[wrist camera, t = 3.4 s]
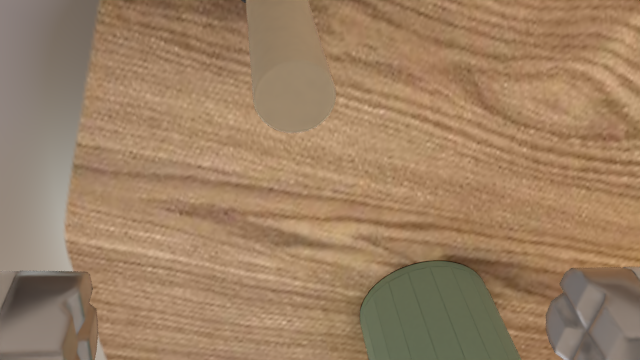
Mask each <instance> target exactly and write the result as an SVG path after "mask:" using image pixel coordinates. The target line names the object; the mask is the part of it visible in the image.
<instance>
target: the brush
mask: <svg viewBox="0 0 640 360" xmlns="http://www.w3.org/2000/svg"><path fill="white" fill-rule="evenodd" d="M241 1H243V2H244V3H246V9H247V23H248V36H249V50H250V63H251V77H252V91H253V102H254V107H255V110H256V112H257V114H258V115H259V117H260V118H261V119H262V120H263V121H264V122H265V123H266V124H267V125H268V126H270V127H271V128H273V129H275V130H278V131H281V132H285V133H301V132H305V131H309V130H311V129H313V128H315V127H317V126H318V125H320V124H321V123H322V122H323V121H325V119H326V118H327V117H328V116H329V114H330V113H331V111H332V109H333V107H334V104H335V100H336V89H335V84H334V81H333V78H332V75H331V72H330V69H329V65H328V62H327V59H326V56H325V53H324V50H323V46H322V43H321V40H320V37H319V34H318V31H317V27H316V24H315V21H314V18H313V15H312V12H311V9H310V5H309V2H308V0H241Z"/></svg>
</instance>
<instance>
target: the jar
mask: <svg viewBox="0 0 640 360" xmlns="http://www.w3.org/2000/svg"><path fill="white" fill-rule="evenodd" d="M360 322H361V328H362V332H363V336H364V341H365V345H366V349H367V354H368V358H369V360H521V358H520V356H519V354H518V351H517V349H516V347H515V345H514V343H513V341H512V339H511V337H510V335H509V333H508V331H507V329H506V326H505V324H504V322H503V320H502V318H501V316H500V314H499V312H498V310H497V308H496V306H495V303H494V301H493V299H492V297H491V295H490V293H489V291H488V290H487V288H486V286H485V284H484V282H483V280H482V279H481V277H480V276H479V275H478V274H477V273H476V272H474V271H473V270H471V269H470V268H468V267H466V266H464V265H461V264H458V263H454V262H447V261H429V262H422V263H418V264H414V265H410V266H407V267H404V268H402V269H400V270H397V271H395V272H393V273H392V274H390V275H388V276H387V277H385V278H384V279H382V280H381V281H380V282H379V283H377V284H376V285H375V286H374V287H373V288H372V290H371V291H370V292H369V293H368V295H367V296H366V298H365V300H364V302H363V304H362V307H361V310H360Z"/></svg>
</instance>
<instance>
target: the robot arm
mask: <svg viewBox="0 0 640 360" xmlns="http://www.w3.org/2000/svg"><path fill="white" fill-rule="evenodd" d="M560 286H561V288H562V290H563V293H562V294H560V295H559V296H558V297H556V298H555V299H554V300H552V301H551V303H550V306H549V308H548V311H547V313H546V332H547V336H548V339H549V342H550V344H551V346H552V348H553V350H554V352H555V353H556V354H557V355H558V356H560V357H561V358H562V359H564V360H640V267H623V268H621V267H602V268H571V269H570V270H568V271H567V272H566V273H565V274H564V276H563V278H562V280H561V282H560ZM92 290H93V287H92V282H91V277H90V274H89V273H88V272H72V271H71V272H69V271H0V360H95V355H96V350H97V340H98V318H97V311H96V308H95V307H94V306H92V305H91V304H90V303H89V302H90V298H91V294H92Z"/></svg>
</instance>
